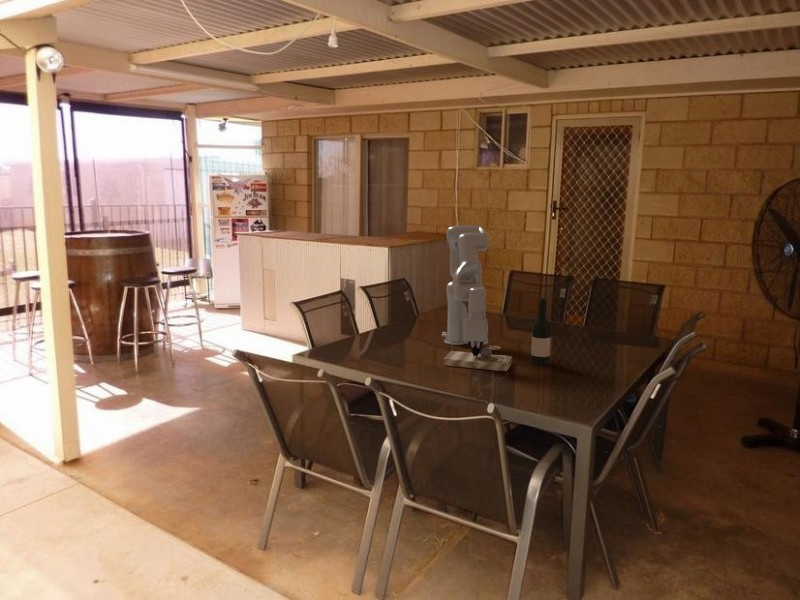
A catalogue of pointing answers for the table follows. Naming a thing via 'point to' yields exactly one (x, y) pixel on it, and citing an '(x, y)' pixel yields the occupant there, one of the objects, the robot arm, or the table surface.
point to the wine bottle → (541, 337)
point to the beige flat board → (478, 361)
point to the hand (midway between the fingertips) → (475, 355)
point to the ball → (486, 353)
